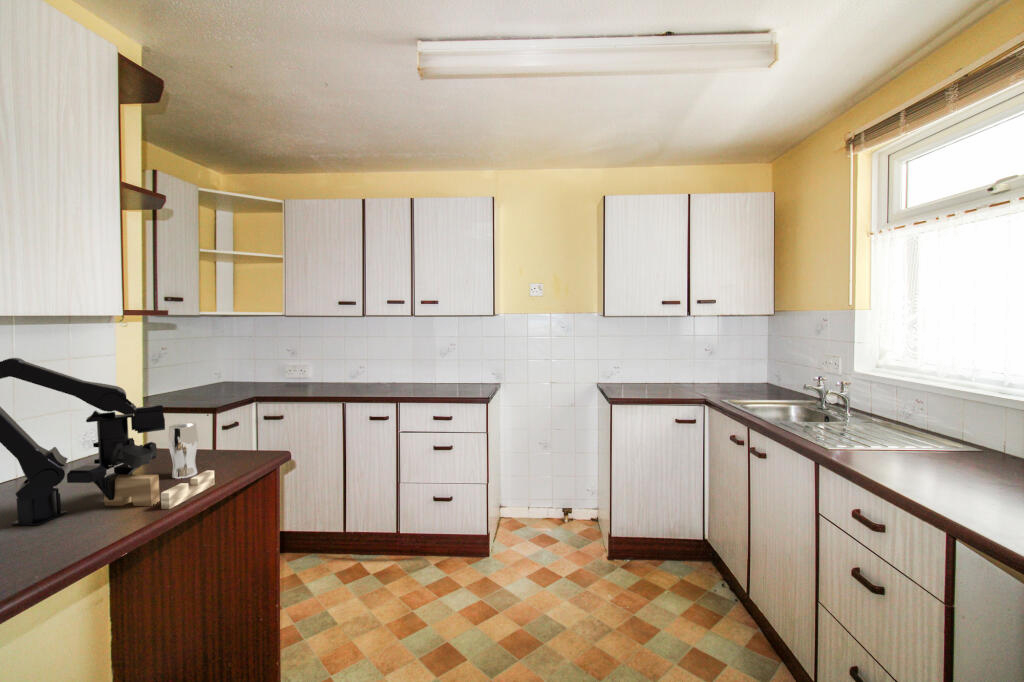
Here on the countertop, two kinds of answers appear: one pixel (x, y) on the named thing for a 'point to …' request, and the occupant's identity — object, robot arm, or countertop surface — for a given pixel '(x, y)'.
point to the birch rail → (187, 489)
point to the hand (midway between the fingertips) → (116, 497)
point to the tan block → (135, 490)
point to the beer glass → (183, 449)
